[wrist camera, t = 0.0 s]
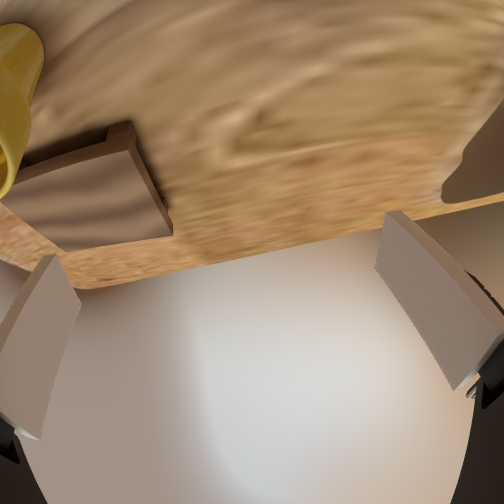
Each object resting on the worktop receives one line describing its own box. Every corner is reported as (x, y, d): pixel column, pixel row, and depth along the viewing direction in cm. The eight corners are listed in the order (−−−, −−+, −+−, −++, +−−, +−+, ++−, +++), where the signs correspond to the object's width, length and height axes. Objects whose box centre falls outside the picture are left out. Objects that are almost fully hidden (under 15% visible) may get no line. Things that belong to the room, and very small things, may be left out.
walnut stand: (3, 162, 19) (-9, 194, 17) (134, 115, 20) (128, 150, 18) (69, 225, 34) (66, 252, 32) (172, 207, 35) (173, 235, 33)
